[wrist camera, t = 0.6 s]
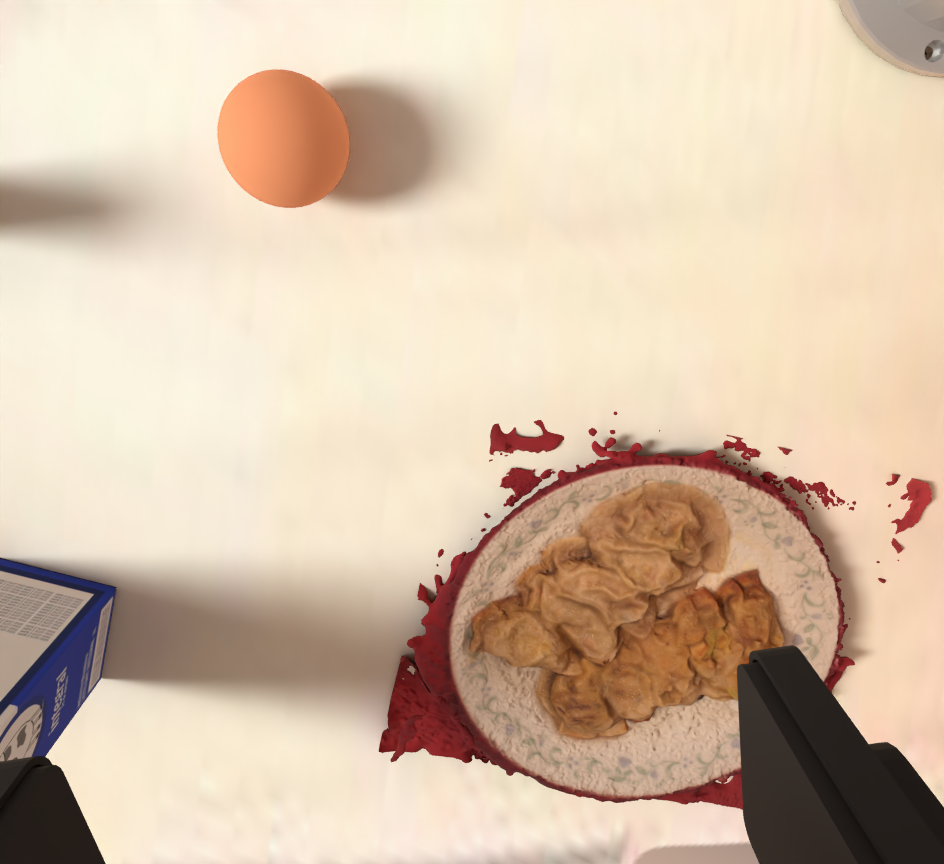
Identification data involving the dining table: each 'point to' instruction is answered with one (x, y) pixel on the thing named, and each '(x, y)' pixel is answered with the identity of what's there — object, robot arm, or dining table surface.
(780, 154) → the dining table surface
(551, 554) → the plate with food
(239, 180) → the ball
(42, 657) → the milk carton
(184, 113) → the dining table surface
